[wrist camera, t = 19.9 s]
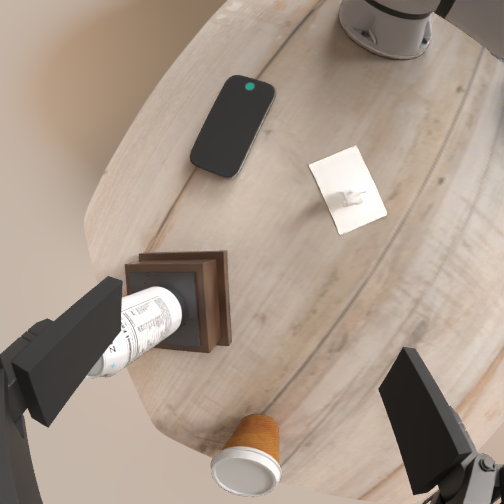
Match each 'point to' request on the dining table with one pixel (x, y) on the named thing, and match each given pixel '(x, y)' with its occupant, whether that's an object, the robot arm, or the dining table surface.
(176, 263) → the stand
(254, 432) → the disposable coffee cup
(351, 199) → the adhesive hook
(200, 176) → the dining table surface
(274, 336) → the dining table surface
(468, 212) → the dining table surface
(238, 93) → the smartphone
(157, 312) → the energy drink can
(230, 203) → the dining table surface
